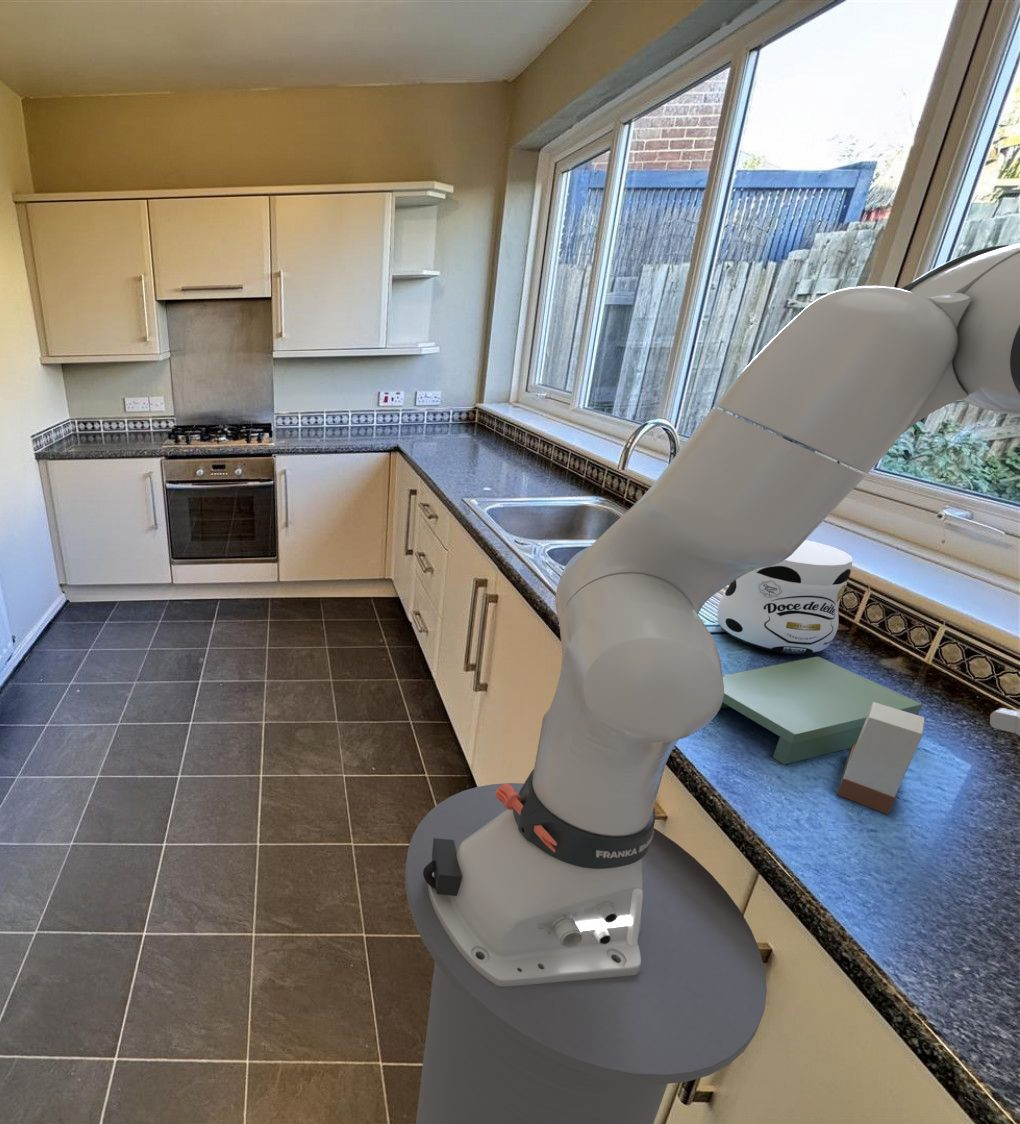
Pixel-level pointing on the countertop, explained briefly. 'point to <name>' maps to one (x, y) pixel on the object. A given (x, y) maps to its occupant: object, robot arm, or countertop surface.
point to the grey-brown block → (881, 757)
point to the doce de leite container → (788, 601)
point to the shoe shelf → (809, 705)
